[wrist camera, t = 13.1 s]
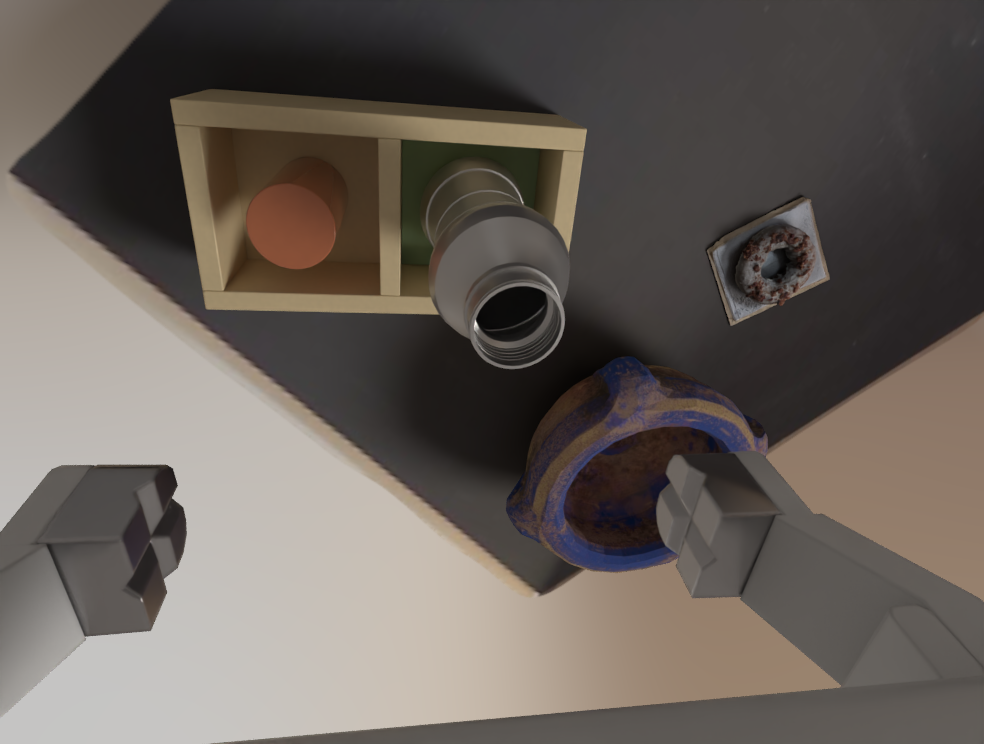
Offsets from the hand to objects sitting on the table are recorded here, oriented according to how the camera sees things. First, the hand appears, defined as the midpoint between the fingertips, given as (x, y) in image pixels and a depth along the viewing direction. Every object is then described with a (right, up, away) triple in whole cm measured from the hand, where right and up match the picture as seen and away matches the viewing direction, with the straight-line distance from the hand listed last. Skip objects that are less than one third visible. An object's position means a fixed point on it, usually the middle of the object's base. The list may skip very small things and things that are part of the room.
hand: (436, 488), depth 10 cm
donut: (+23, +10, +36) cm, 44 cm away
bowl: (+11, -3, +42) cm, 44 cm away
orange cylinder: (-11, +13, +28) cm, 33 cm away
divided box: (-6, +14, +30) cm, 33 cm away
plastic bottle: (-1, +13, +30) cm, 33 cm away
